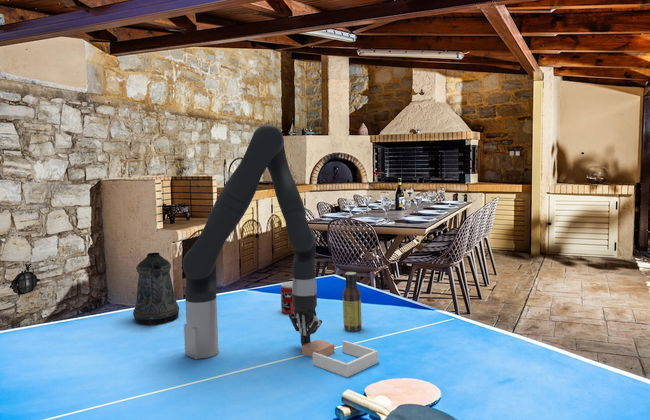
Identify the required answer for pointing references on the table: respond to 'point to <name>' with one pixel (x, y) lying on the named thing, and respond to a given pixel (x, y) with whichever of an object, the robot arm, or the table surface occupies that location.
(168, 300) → the dark grey bell-shaped piece
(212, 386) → the table surface
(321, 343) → the terracotta tile
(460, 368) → the table surface
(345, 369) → the box
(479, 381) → the table surface
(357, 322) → the sauce bottle
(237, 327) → the table surface
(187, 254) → the robot arm
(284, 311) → the canned food
